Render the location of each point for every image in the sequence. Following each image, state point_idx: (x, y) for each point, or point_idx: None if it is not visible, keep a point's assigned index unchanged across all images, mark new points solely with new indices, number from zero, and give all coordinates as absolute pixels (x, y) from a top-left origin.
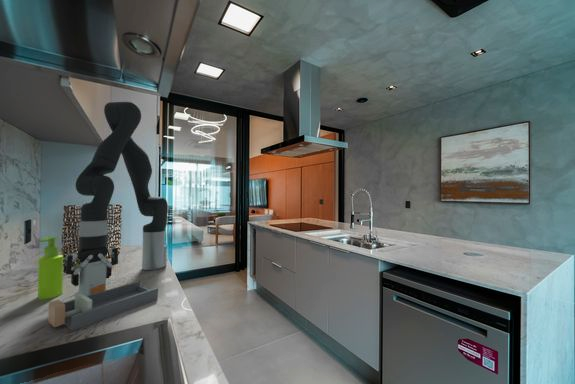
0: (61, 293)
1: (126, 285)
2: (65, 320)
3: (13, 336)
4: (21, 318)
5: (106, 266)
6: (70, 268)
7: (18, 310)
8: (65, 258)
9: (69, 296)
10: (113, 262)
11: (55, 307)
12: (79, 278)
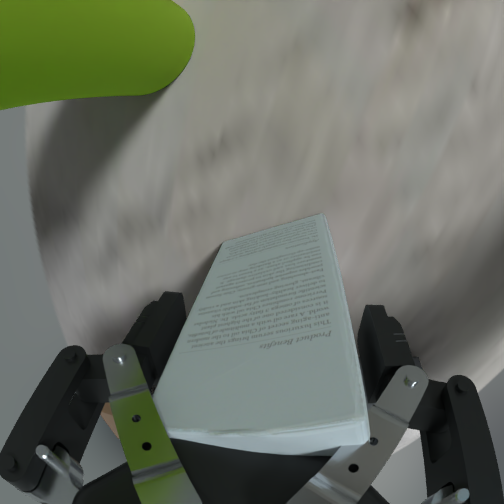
0: (182, 67)
1: (367, 401)
2: (156, 386)
3: (75, 344)
4: (63, 253)
5: (385, 388)
6: (90, 421)
7: (48, 161)
8: (14, 448)
9: (203, 147)
10: (425, 425)
11: (118, 438)
12: (186, 320)
